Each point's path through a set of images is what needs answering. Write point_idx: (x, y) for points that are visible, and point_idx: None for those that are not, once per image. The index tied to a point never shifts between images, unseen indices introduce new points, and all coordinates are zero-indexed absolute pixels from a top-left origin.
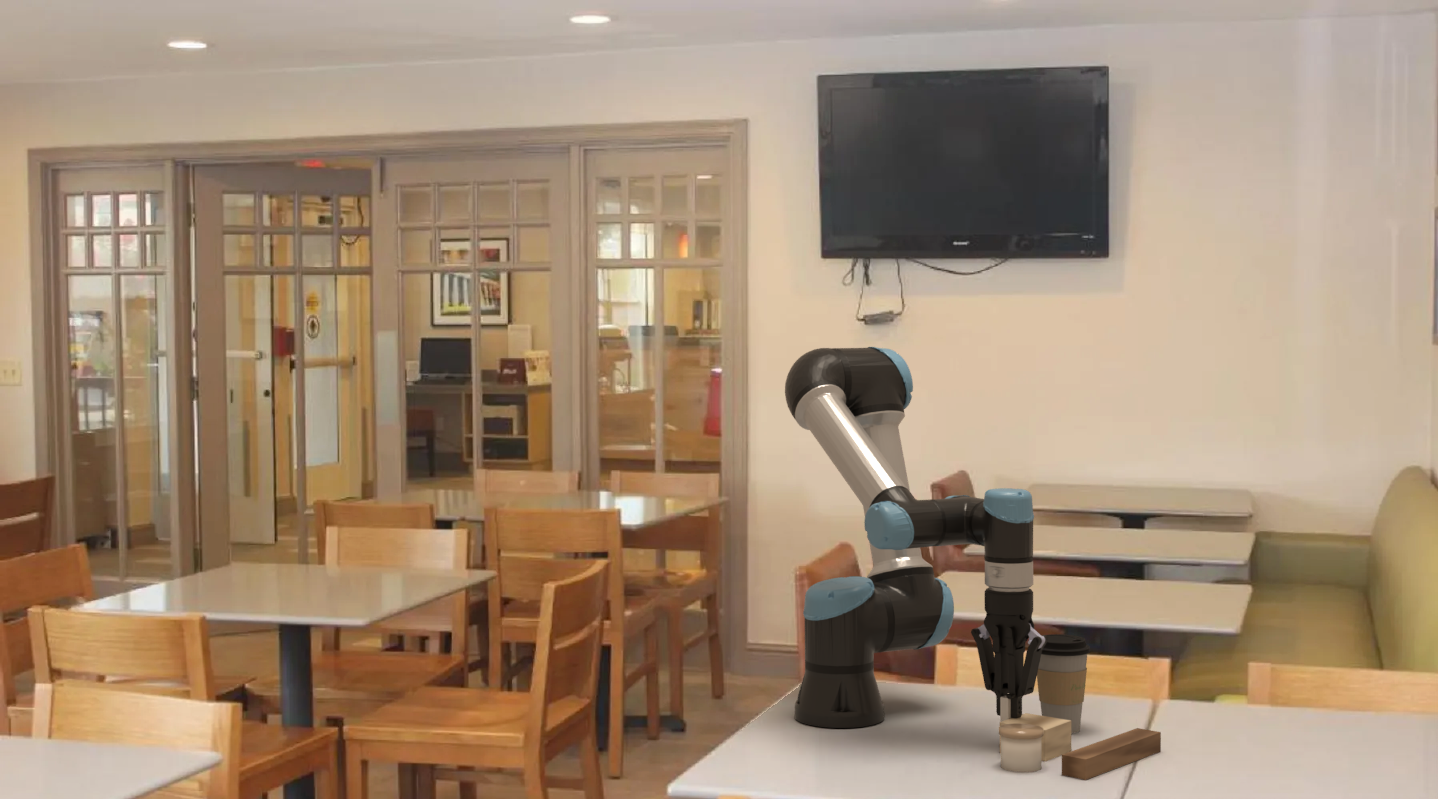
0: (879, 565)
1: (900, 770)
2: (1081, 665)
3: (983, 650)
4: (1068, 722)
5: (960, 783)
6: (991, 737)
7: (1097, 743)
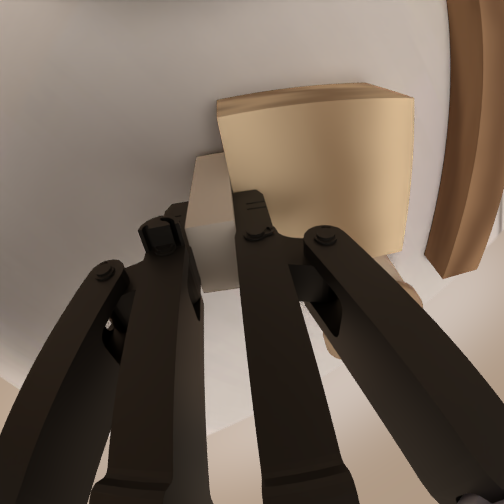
0: None
1: (219, 383)
2: None
3: (86, 488)
4: (412, 118)
5: (319, 367)
6: (106, 136)
7: (478, 162)
